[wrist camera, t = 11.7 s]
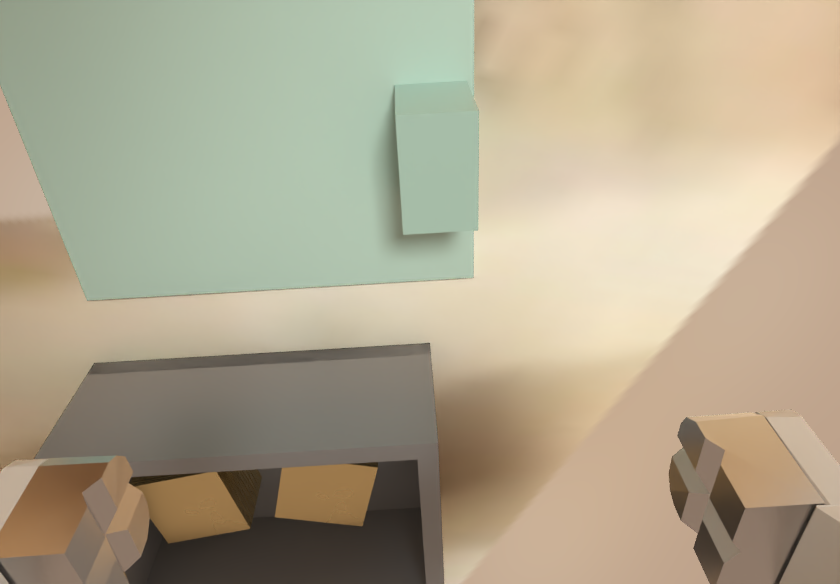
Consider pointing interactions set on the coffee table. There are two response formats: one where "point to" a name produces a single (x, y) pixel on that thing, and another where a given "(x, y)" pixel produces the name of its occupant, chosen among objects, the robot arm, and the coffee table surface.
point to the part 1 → (200, 502)
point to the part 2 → (326, 493)
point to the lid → (249, 139)
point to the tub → (276, 457)
